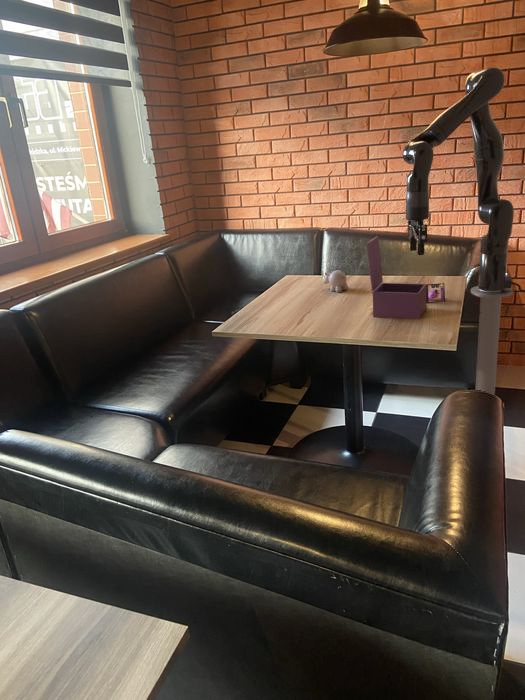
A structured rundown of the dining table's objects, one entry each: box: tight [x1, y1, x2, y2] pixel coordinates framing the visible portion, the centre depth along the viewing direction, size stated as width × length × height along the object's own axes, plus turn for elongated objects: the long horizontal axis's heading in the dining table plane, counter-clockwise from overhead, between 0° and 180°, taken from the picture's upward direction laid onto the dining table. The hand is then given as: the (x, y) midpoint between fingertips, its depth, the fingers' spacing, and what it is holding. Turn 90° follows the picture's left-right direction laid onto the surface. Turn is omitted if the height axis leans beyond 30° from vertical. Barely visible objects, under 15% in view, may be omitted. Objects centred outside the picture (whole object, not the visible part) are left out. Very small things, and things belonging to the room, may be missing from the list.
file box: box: [372, 282, 428, 320], centre depth 185 cm, size 16×13×9 cm
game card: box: [426, 282, 446, 304], centre depth 195 cm, size 7×5×9 cm
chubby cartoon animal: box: [322, 269, 349, 293], centre depth 221 cm, size 7×12×8 cm, turn 36°
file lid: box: [366, 235, 384, 292], centre depth 184 cm, size 16×13×1 cm
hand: (416, 252), depth 186 cm, fingers open, 8 cm apart
